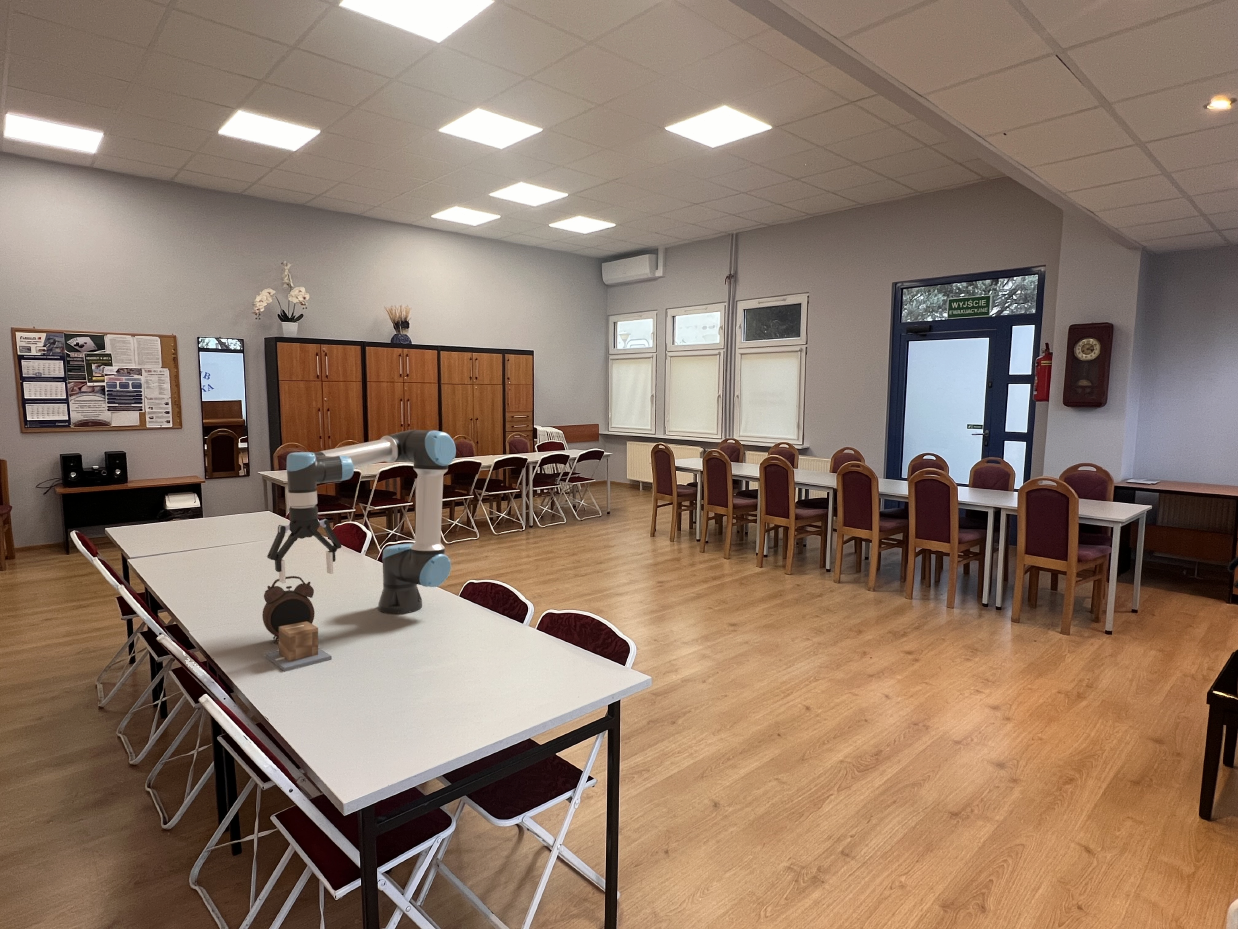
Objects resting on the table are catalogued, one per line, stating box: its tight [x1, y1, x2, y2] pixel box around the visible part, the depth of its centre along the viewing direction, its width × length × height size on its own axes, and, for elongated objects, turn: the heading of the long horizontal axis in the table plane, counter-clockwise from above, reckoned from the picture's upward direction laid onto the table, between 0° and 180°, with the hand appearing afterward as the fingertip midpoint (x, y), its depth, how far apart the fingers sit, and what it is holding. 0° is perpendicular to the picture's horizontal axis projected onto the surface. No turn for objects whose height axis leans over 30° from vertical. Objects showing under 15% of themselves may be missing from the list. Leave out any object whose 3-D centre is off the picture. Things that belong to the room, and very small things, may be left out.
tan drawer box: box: [278, 621, 319, 661], centre depth 197 cm, size 8×8×8 cm
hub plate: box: [264, 647, 333, 672], centre depth 197 cm, size 13×15×6 cm
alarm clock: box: [262, 575, 315, 644], centre depth 211 cm, size 15×7×20 cm, turn 126°
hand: (306, 577), depth 199 cm, fingers open, 13 cm apart
